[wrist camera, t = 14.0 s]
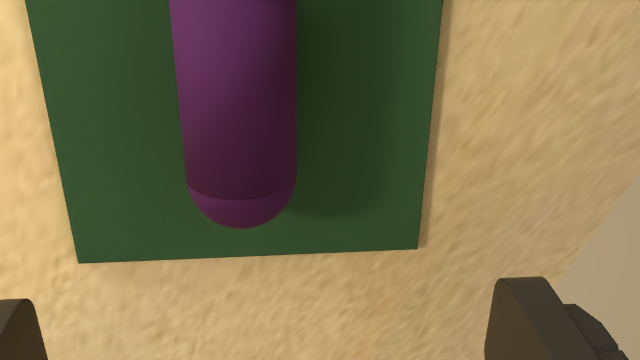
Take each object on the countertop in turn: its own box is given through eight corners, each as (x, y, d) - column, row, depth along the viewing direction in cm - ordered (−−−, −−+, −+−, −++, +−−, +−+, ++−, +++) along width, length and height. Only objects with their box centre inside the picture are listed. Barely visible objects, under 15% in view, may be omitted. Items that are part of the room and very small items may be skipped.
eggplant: (297, -128, 21) (294, -127, 18) (297, 195, 27) (295, 250, 23) (171, -130, 21) (141, -130, 17) (199, 195, 27) (181, 250, 23)
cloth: (458, -180, 22) (462, -181, 21) (415, 245, 30) (417, 249, 30) (-10, -191, 20) (-15, -192, 20) (80, 259, 28) (77, 264, 28)
